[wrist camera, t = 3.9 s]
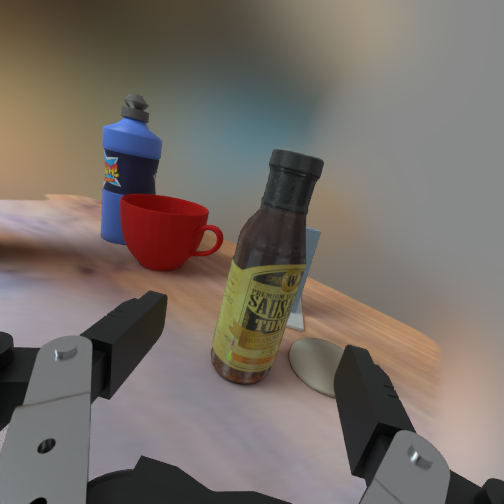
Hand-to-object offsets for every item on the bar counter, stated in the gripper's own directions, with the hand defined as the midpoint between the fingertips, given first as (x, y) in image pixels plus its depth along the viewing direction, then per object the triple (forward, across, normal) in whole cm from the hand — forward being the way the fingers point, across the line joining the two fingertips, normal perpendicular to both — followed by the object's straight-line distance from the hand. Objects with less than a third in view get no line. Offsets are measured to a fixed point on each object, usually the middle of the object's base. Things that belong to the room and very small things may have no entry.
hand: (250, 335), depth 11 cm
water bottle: (+36, +28, +11) cm, 47 cm away
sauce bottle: (+11, 0, +12) cm, 16 cm away
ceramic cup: (+28, +16, +11) cm, 34 cm away
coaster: (+14, -9, +11) cm, 20 cm away
